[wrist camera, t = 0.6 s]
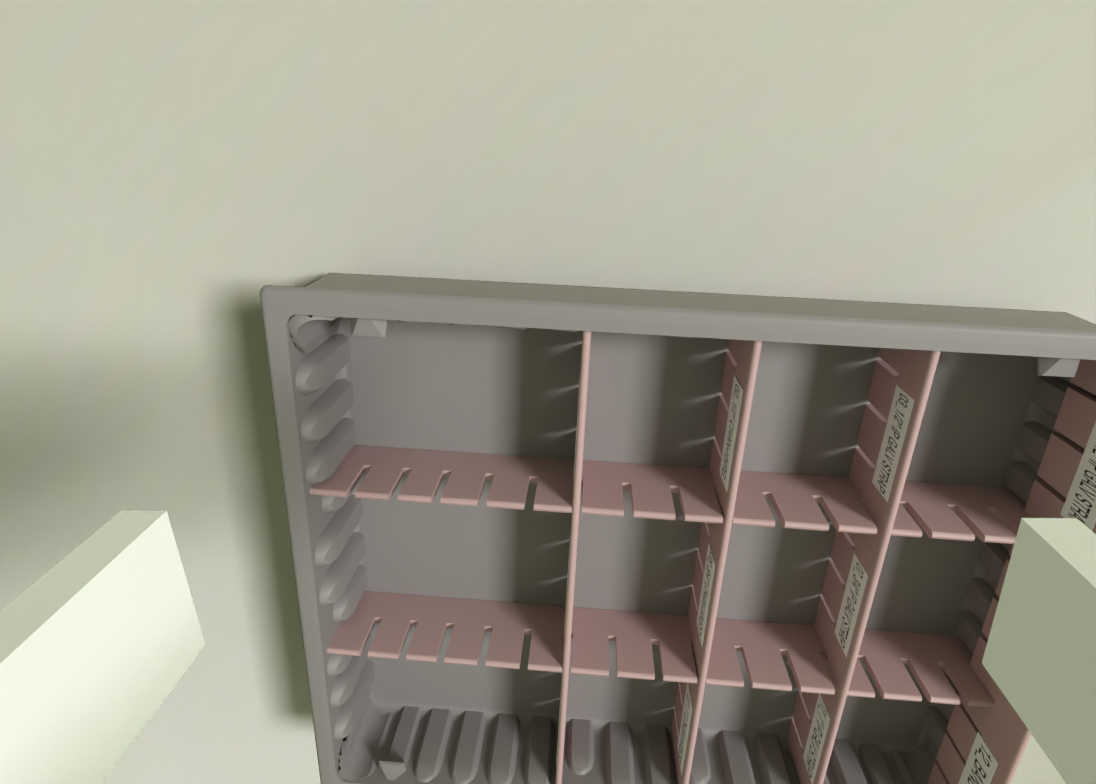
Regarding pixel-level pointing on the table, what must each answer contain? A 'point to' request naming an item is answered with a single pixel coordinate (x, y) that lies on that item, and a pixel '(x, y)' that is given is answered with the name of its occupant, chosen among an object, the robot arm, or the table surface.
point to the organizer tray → (664, 527)
